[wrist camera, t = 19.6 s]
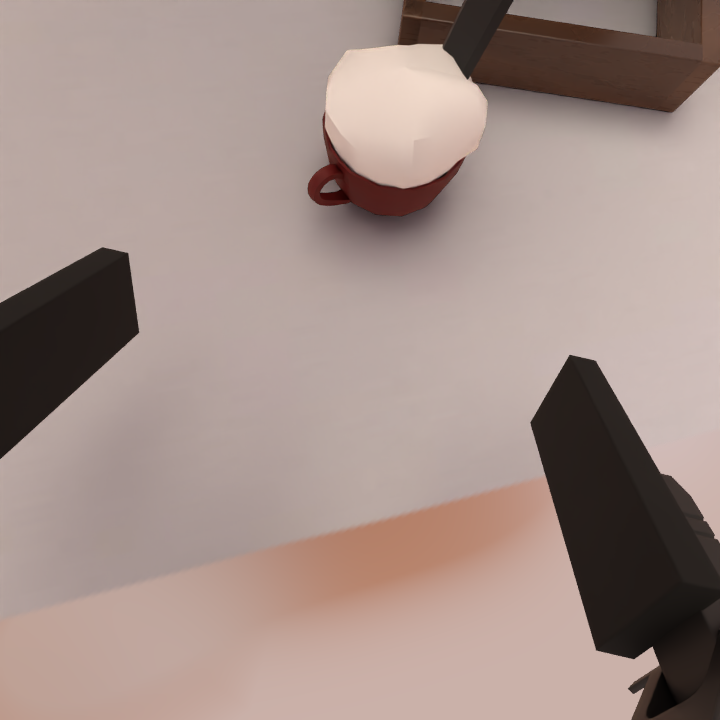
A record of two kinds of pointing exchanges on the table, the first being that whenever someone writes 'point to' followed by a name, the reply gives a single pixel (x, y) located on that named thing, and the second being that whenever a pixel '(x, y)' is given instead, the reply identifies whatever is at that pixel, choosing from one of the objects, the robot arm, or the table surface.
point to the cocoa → (405, 116)
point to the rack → (589, 53)
